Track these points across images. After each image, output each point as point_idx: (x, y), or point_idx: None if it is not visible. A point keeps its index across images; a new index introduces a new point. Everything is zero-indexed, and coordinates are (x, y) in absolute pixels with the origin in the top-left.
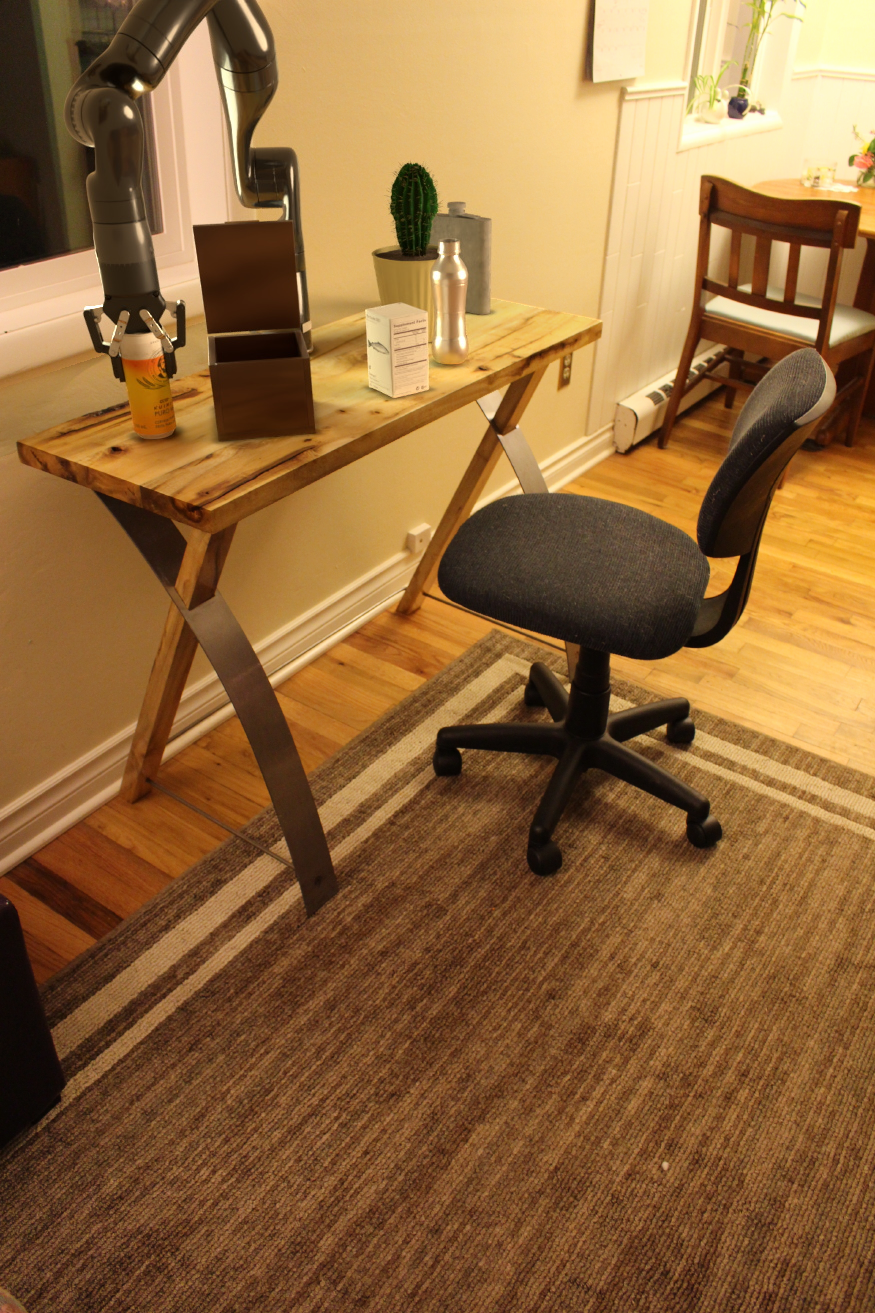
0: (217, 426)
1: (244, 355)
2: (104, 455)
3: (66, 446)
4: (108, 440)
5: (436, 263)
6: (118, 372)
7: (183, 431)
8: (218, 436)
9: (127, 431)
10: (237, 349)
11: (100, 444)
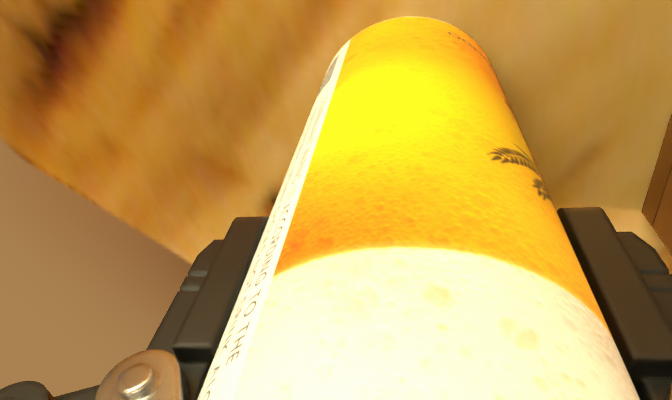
0: (668, 247)
1: None
2: None
3: (123, 168)
4: (241, 140)
5: None
6: None
7: (519, 92)
8: (648, 221)
9: (285, 57)
10: None
11: (226, 170)
